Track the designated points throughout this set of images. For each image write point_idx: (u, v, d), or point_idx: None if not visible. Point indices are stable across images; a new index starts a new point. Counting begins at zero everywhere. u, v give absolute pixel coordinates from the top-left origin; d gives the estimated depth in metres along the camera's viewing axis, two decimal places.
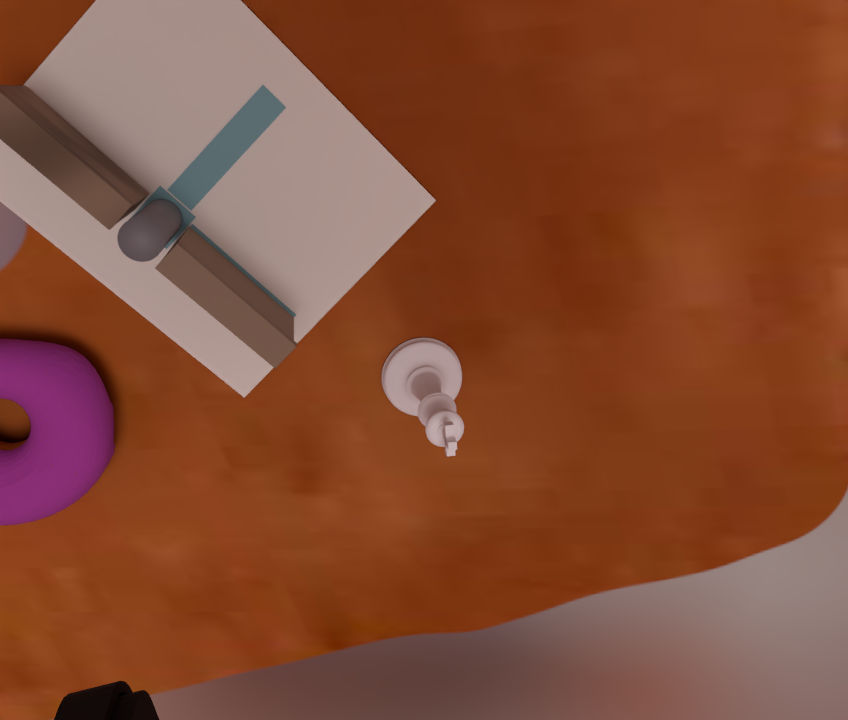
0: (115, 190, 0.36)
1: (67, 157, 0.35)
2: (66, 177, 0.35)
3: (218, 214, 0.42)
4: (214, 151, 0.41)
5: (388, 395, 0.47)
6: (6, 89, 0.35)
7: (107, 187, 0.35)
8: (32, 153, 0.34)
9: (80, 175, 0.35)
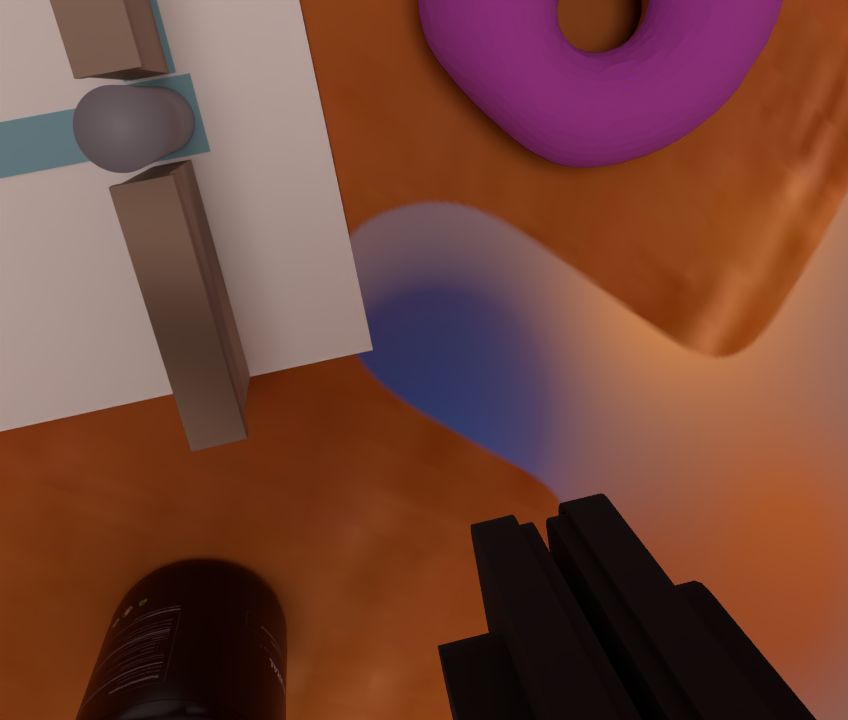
0: (120, 223, 0.20)
1: (157, 309, 0.21)
2: (179, 285, 0.20)
3: None
4: (19, 158, 0.24)
5: None
6: None
7: (128, 235, 0.20)
8: (202, 342, 0.21)
9: (156, 276, 0.20)
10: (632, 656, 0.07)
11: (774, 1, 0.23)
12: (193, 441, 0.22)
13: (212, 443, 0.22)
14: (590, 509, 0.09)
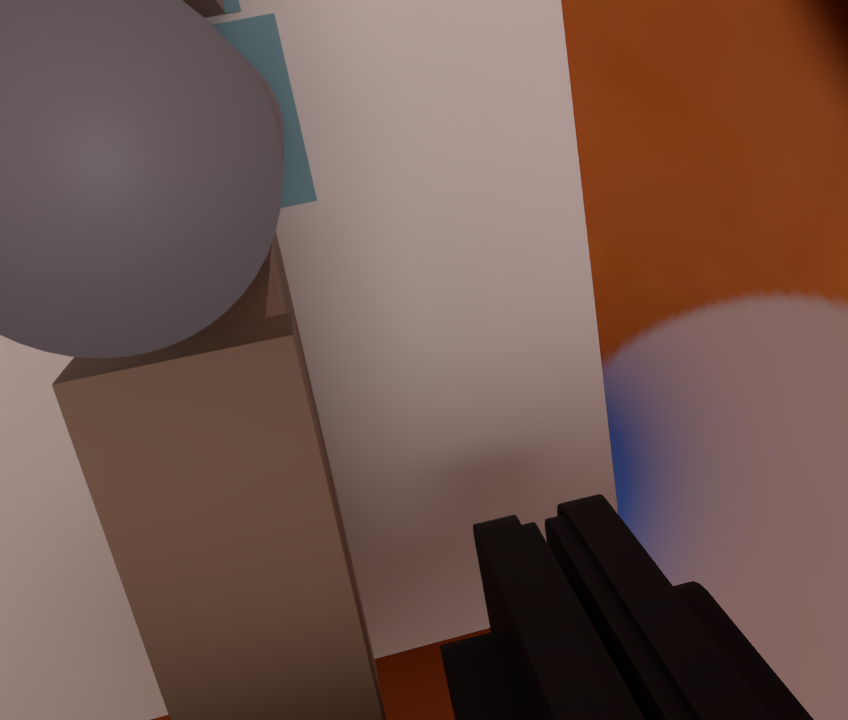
0: (99, 500, 0.06)
1: None
2: (294, 679, 0.06)
3: None
4: None
5: None
6: None
7: (124, 542, 0.06)
8: None
9: (220, 657, 0.06)
10: (630, 657, 0.07)
11: None
12: None
13: None
14: (588, 510, 0.09)
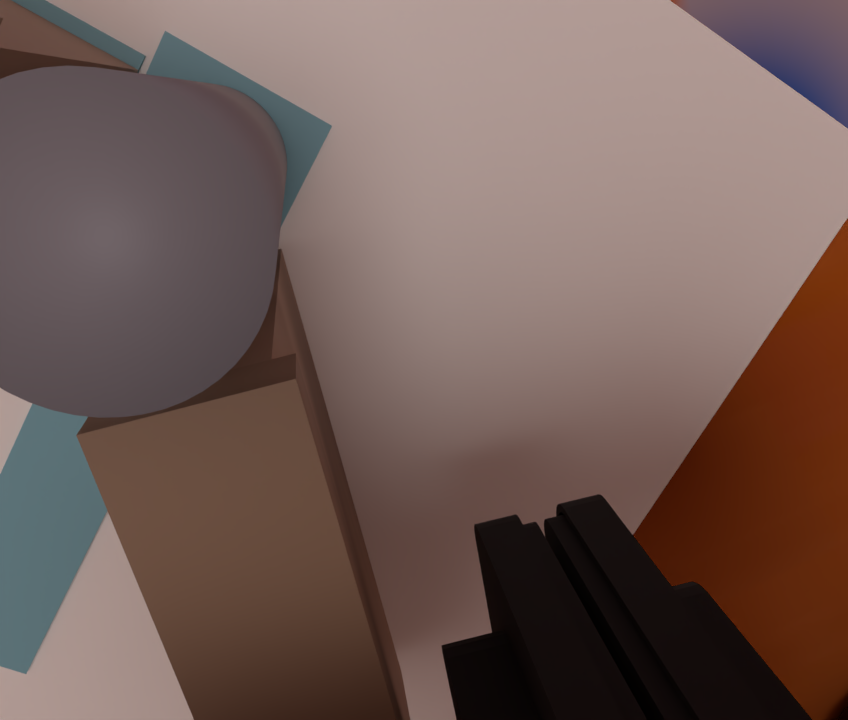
0: None
1: None
2: (313, 695, 0.07)
3: None
4: None
5: None
6: None
7: (149, 575, 0.06)
8: None
9: (244, 677, 0.06)
10: (629, 658, 0.07)
11: None
12: None
13: None
14: (587, 510, 0.09)
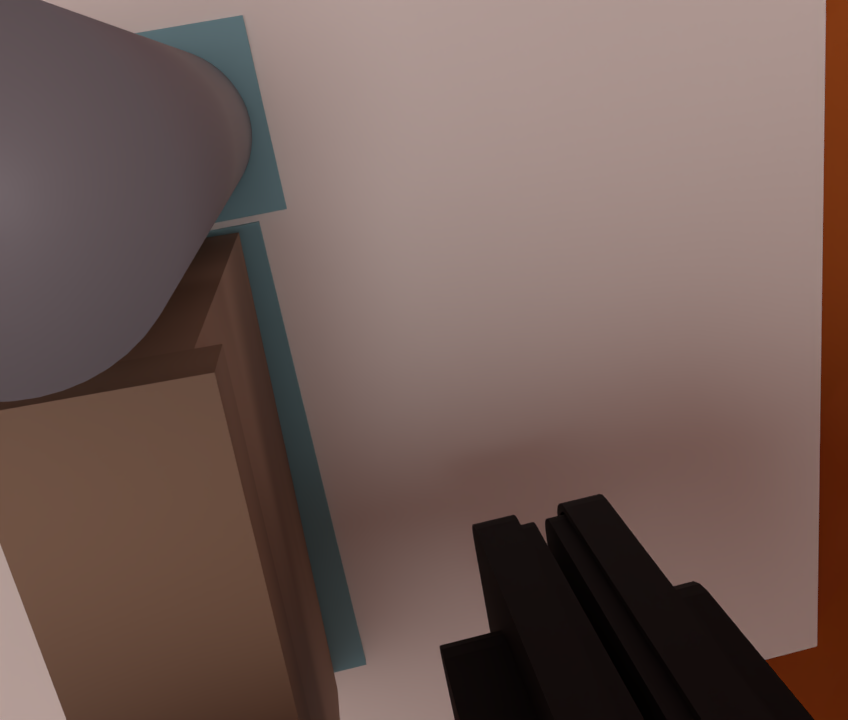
0: (7, 538, 0.05)
1: None
2: None
3: None
4: None
5: None
6: None
7: (33, 585, 0.05)
8: None
9: (137, 704, 0.06)
10: (630, 657, 0.07)
11: None
12: None
13: None
14: (589, 509, 0.09)
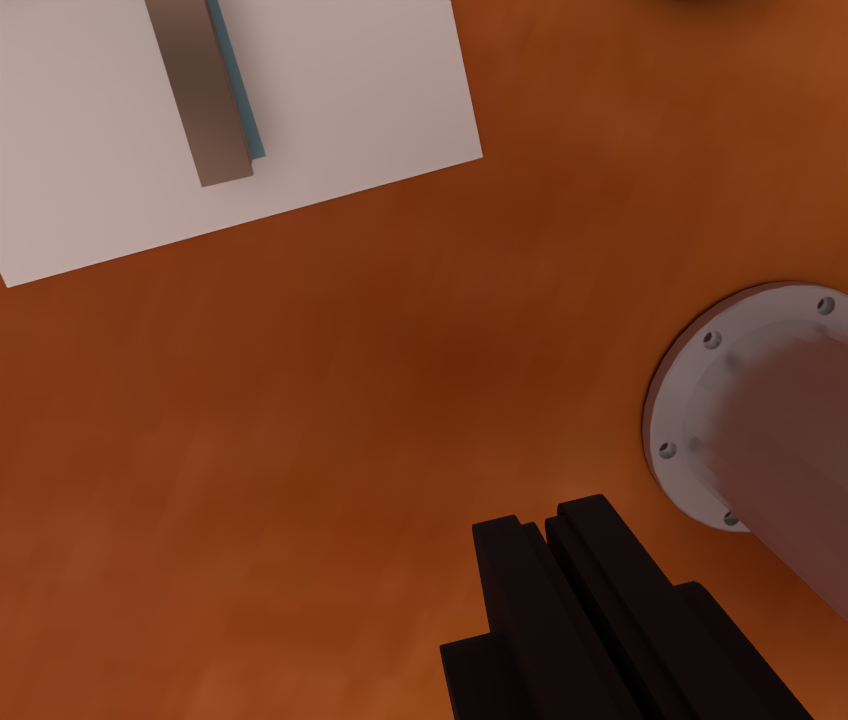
0: None
1: (166, 40, 0.22)
2: (186, 16, 0.22)
3: None
4: None
5: None
6: None
7: None
8: (209, 75, 0.23)
9: (165, 6, 0.22)
10: (630, 657, 0.07)
11: None
12: (203, 177, 0.24)
13: (220, 179, 0.24)
14: (588, 510, 0.09)
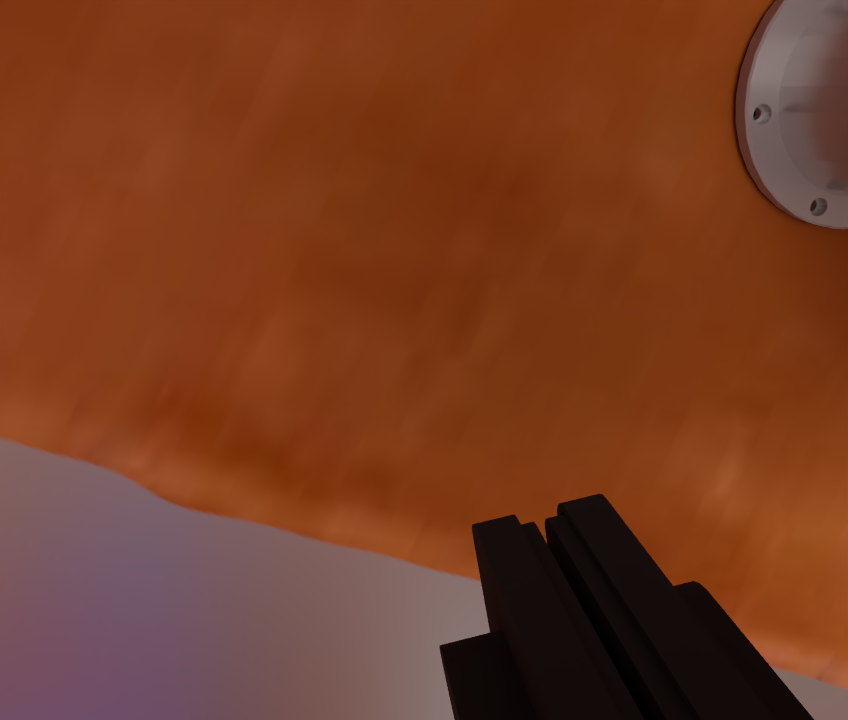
0: None
1: None
2: None
3: None
4: None
5: None
6: None
7: None
8: None
9: None
10: (630, 657, 0.07)
11: None
12: None
13: None
14: (589, 510, 0.09)
